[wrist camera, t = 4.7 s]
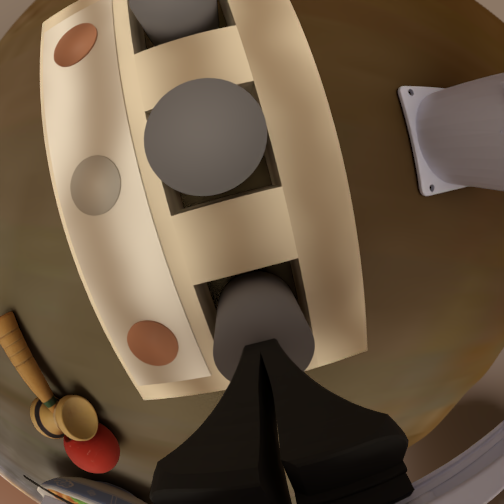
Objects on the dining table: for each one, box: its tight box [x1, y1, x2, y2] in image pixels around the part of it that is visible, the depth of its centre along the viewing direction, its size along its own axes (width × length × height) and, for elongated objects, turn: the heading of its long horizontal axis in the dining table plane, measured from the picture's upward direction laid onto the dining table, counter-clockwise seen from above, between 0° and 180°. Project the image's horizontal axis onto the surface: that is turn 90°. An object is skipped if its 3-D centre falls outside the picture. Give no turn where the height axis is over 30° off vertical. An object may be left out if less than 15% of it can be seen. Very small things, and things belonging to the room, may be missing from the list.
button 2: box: [144, 78, 267, 196], centre depth 11 cm, size 4×4×4 cm
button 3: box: [213, 271, 315, 381], centre depth 13 cm, size 4×4×4 cm
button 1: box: [129, 0, 219, 46], centre depth 10 cm, size 4×4×4 cm
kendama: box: [0, 312, 120, 473], centre depth 17 cm, size 8×6×18 cm
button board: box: [40, 0, 367, 400], centre depth 13 cm, size 15×27×4 cm, turn 14°
